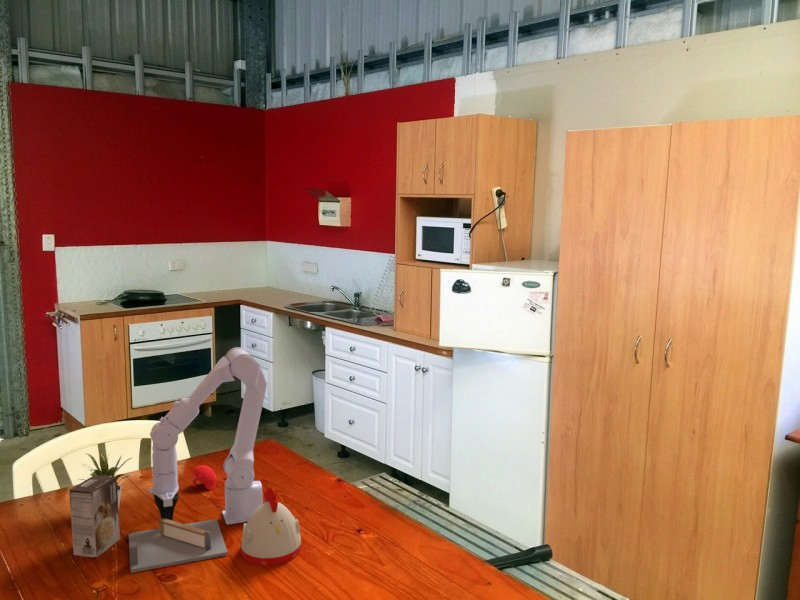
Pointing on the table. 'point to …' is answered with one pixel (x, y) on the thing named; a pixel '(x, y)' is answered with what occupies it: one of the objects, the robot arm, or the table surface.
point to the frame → (173, 547)
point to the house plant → (107, 471)
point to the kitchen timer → (271, 533)
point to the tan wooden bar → (182, 532)
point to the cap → (205, 477)
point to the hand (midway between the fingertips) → (167, 522)
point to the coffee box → (94, 515)
